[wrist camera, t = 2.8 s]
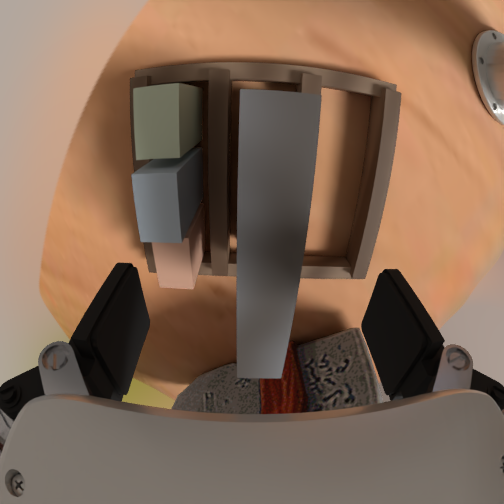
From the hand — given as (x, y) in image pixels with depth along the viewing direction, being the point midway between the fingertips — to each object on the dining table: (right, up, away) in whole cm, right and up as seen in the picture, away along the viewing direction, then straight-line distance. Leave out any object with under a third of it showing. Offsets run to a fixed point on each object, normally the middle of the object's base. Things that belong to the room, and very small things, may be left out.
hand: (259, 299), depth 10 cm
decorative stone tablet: (+1, -14, +28) cm, 32 cm away
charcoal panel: (+1, +9, +14) cm, 17 cm away
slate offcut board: (-6, +9, +14) cm, 18 cm away
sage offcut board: (-6, +14, +11) cm, 19 cm away
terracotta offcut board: (-6, +4, +17) cm, 19 cm away
